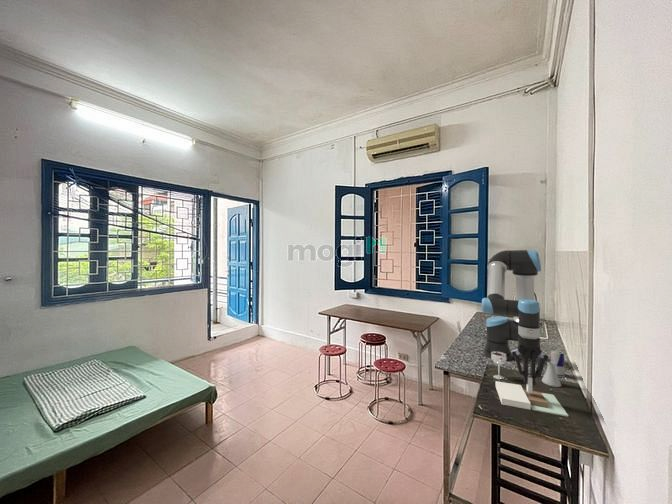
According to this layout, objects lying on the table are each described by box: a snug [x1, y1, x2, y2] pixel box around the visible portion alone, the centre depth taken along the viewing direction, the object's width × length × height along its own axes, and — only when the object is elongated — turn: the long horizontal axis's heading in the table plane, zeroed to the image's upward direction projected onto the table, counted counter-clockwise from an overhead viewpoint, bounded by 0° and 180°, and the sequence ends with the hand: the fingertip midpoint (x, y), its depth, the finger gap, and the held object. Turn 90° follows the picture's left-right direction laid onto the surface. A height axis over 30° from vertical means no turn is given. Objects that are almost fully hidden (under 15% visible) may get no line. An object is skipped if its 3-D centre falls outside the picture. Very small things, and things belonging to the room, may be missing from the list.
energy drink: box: [550, 349, 565, 378], centre depth 136 cm, size 5×5×12 cm
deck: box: [495, 380, 532, 410], centre depth 116 cm, size 16×10×2 cm, turn 157°
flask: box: [541, 361, 563, 388], centre depth 127 cm, size 7×7×10 cm
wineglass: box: [490, 351, 508, 380], centre depth 134 cm, size 7×7×12 cm
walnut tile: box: [523, 388, 548, 408], centre depth 112 cm, size 9×6×2 cm, turn 157°
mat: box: [531, 392, 569, 418], centre depth 112 cm, size 16×12×1 cm
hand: (529, 391), depth 113 cm, fingers closed
